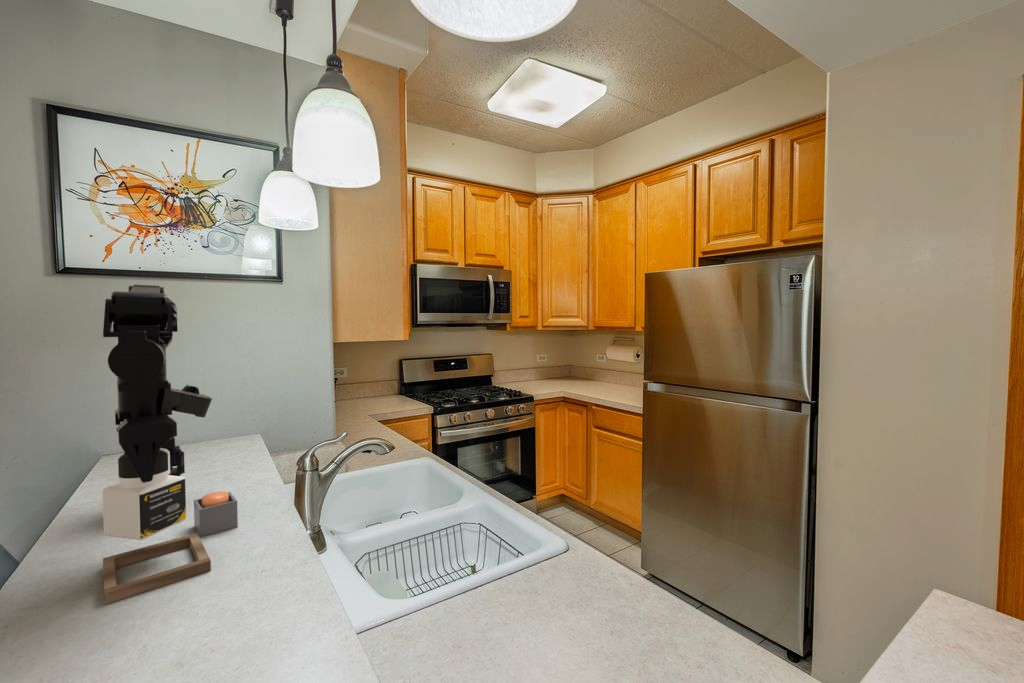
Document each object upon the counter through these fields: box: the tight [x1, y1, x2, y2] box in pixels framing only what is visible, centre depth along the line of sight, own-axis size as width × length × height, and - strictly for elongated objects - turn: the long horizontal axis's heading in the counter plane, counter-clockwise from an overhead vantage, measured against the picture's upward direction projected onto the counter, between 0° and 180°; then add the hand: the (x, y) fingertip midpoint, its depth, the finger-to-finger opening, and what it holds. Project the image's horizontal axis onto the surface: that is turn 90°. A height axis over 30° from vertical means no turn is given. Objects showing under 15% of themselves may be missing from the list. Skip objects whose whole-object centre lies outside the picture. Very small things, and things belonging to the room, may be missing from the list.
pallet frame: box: [102, 532, 212, 605], centre depth 65 cm, size 12×12×2 cm
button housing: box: [193, 491, 239, 538], centre depth 79 cm, size 6×6×5 cm
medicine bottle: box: [101, 448, 187, 541], centre depth 67 cm, size 7×7×12 cm
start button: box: [201, 491, 229, 508], centre depth 79 cm, size 4×4×2 cm
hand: (145, 476), depth 67 cm, fingers closed on medicine bottle, 6 cm apart
